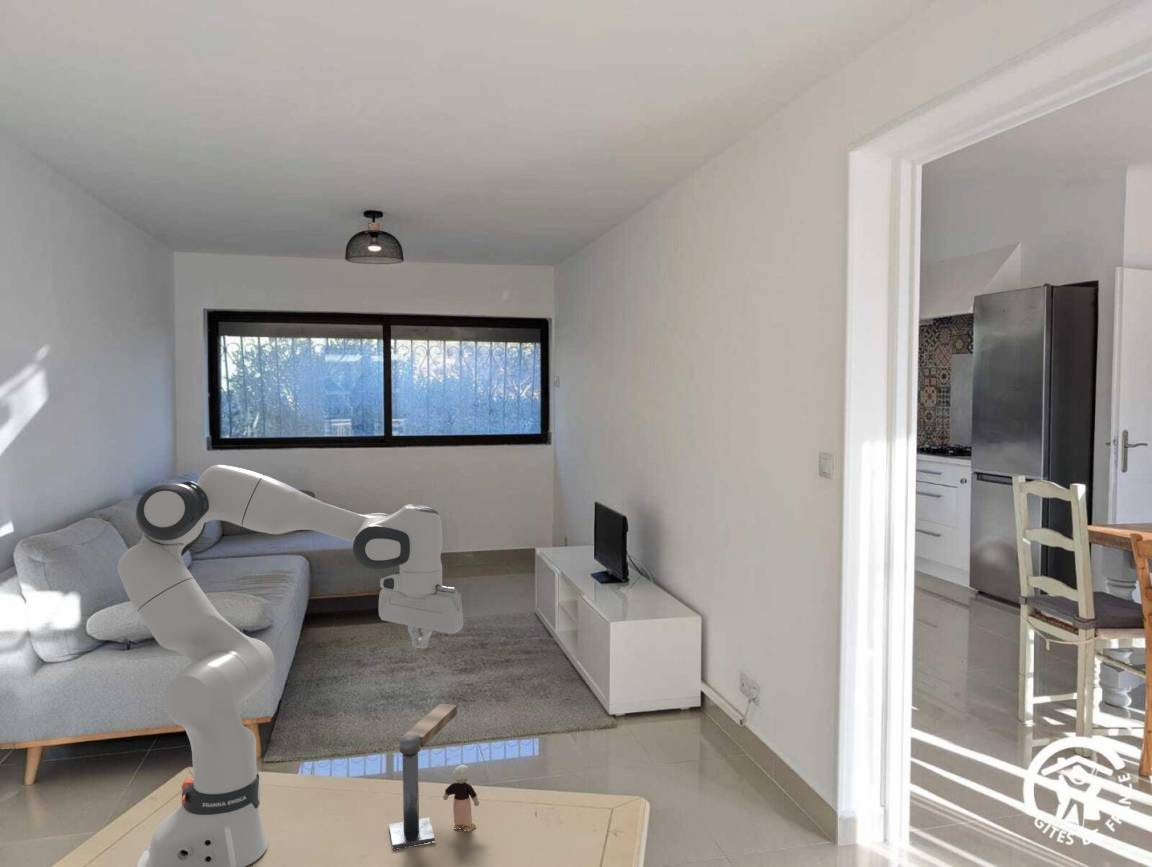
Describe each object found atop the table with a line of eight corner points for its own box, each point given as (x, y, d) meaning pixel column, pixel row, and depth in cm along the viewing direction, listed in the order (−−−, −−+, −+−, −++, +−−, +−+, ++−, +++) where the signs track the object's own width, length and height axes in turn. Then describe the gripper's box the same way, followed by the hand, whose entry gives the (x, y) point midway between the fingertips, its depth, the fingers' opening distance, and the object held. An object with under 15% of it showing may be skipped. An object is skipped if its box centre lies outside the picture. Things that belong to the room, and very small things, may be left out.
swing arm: (414, 755, 159) (414, 743, 159) (396, 753, 160) (395, 741, 160) (457, 715, 179) (457, 704, 179) (440, 713, 180) (440, 702, 180)
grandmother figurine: (482, 823, 167) (481, 762, 166) (478, 833, 163) (477, 770, 162) (445, 821, 168) (444, 760, 167) (440, 831, 164) (439, 769, 163)
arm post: (392, 849, 157) (391, 763, 156) (388, 828, 165) (387, 746, 164) (434, 842, 160) (433, 757, 159) (428, 822, 167) (427, 740, 166)
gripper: (470, 585, 170) (469, 651, 170) (394, 573, 179) (393, 635, 180) (451, 592, 164) (450, 660, 165) (373, 578, 174) (373, 643, 175)
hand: (420, 647), depth 173 cm, fingers closed
